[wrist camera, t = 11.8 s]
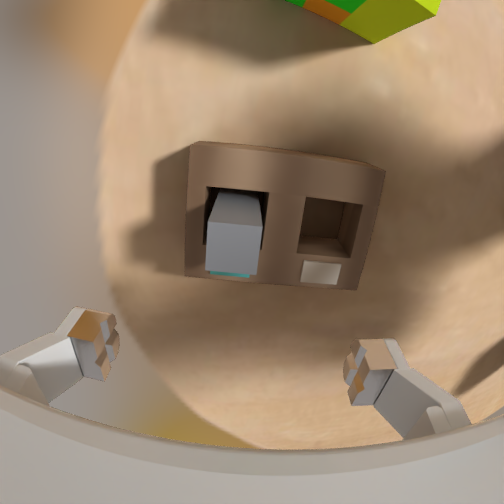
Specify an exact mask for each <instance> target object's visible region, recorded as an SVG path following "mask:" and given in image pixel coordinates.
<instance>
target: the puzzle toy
mask: <svg viewBox="0 0 504 504" xmlns="http://www.w3.org/2000/svg"><path fill="white" fill-rule="evenodd" d="M285 1H288V2H290V3H293V4H295V5H298V6H300V7H302V8H305V9H307V10H309V11H311V12H314V13H316V14H318V15H320V16H322V17H324V18H326V19H328V20H331V21H333V22H335V23H337V24H338V25H340V26H342V27H344V28H346V29H348V30H350V31H352V32H354V33H355V34H357V35H359V36H361V37H362V38H364V39H366V40H368V41H369V42H371V43H373V44H375V43H377V42H379V41H381V40H383V39H385V38H387V37H389V36H391V35H393V34H395V33H397V32H400V31H402V30H404V29H406V28H408V27H410V26H413V25H415V24H417V23H420V22H422V21H424V20H427V19H429V18H431V17H434V16H436V14H437V11H438V8H439V5H440V2H441V0H285Z"/></svg>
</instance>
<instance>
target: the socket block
mask: <svg viewBox="0 0 504 504" xmlns="http://www.w3.org/2000/svg"><path fill="white" fill-rule="evenodd" d="M385 172H386V171H384V170H382V169H380V168H377V167H375V166H373V165H370V164H368V163H365V162H360V161H354V160H349V159H344V158H338V157H332V156H326V155H320V154H314V153H307V152H300V151H293V150H286V149H278V148H270V147H261V146H252V145H242V144H231V143H219V142H205V141H198V142H196V143H194V144H192V145H190V154H189V169H188V185H187V206H186V233H185V276H189V277H199V278H209V279H220V280H231V281H242V282H253V283H265V284H277V285H289V286H303V287H316V288H331V289H346V290H357V287H358V283H359V280H360V276H361V273H362V269H363V266H364V262H365V259H366V255H367V251H368V247H369V243H370V240H371V236H372V232H373V227H374V223H375V219H376V215H377V210H378V206H379V201H380V197H381V192H382V187H383V182H384V177H385ZM211 187H221V188H232V189H243V190H253V191H262V192H265V193H264V201H263V209H262V217H261V219H262V226H263V228H262V236H261V243H260V251H259V258H258V266H257V273H256V275H250V274H239V273H228V272H218V271H208V270H205V264H206V245H207V229H208V220H209V213H210V198H211ZM306 197H313V198H320V199H328V200H335V201H342V202H345V205H344V210H343V215H342V220H341V224H340V229H339V234H338V238H337V239H330V238H321V237H312V236H302V235H300V229H301V223H302V218H303V212H304V206H305V199H306Z"/></svg>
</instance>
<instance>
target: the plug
mask: <svg viewBox="0 0 504 504" xmlns="http://www.w3.org/2000/svg"><path fill="white" fill-rule="evenodd" d="M262 228H263V226H262V219H261V211H260V204H259V197H258V191H253V190H243V189H232V188H220V191H219V193H218V196H217V199H216V201H215V204H214V207H213V209H212V212H211V215H210V217H209V220H208V229H207V245H206V264H205V270H208V271H218V272H228V273H239V274H250V275H256V273H257V266H258V258H259V251H260V243H261V236H262Z"/></svg>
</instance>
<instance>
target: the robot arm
mask: <svg viewBox="0 0 504 504" xmlns="http://www.w3.org/2000/svg"><path fill="white" fill-rule="evenodd" d="M116 324H117V323H116V319H115V316H114V315H113V314H110V313H106V312H101V311H96V310H92V309H87V308H82V307H78V306H76V307H74V308H73V309H72V310H71V311H70V313H69V314H68V315H67V316H66V318H65V319H64V320H63V322H62V323H61V324H60V326H59V327H58V328H57V329H56V331H55V332H54V333H52V332H50V333H47V334H45V335H43V336H41V337H39V338H37V339H35V340H32V341H30V342H28V343H26V344H23V345H21V346H19V347H17V348H15V349H13V350H10V351H8V352H6V353H4V354H2V355H0V504H504V414H503V415H500V416H497V417H494V418H491V419H488V420H485V421H482V422H479V423H475V424H471V422H470V420H469V418H468V416H467V414H466V412H465V410H464V408H463V406H462V404H461V402H460V401H459V400H458V399H457V398H455V397H454V396H452V395H451V394H449V393H448V392H447V391H445V390H444V389H442V388H441V387H440V386H438V385H437V384H435V383H434V382H432V381H431V380H430V379H428V378H427V377H425V376H424V375H423V374H421V373H420V372H418V371H417V370H415V369H414V368H412V369H410V367H409V365H408V363H407V361H406V359H405V357H404V355H403V353H402V351H401V349H400V347H399V345H398V343H397V341H396V340H395V339H394V338H381V339H354V340H353V342H352V344H351V347H350V348H351V351H352V353H350V354H349V355H348V356H347V357H346V359H345V362H344V367H343V377H344V380H345V382H346V383H347V384H348V385H349V386H350V387H349V389H348V395H349V399H350V402H351V406H363V405H374V408H375V409H376V410H377V411H378V412H379V413H380V414H381V415H382V416H383V417H384V418H385V419H386V420H387V421H388V422H389V423H390V424H391V425H392V426H393V428H394V429H395V430H396V431H397V432H398V433H399V434H400V435H401V436H402V437H403V440H402V441H395V442H389V443H382V444H374V445H365V446H356V447H344V448H329V449H303V450H277V449H250V448H236V447H225V446H215V445H206V444H198V443H191V442H185V441H178V440H171V439H167V438H161V437H156V436H151V435H146V434H141V433H137V432H132V431H128V430H124V429H120V428H117V427H113V426H109V425H105V424H102V423H98V422H95V421H92V420H88V419H85V418H82V417H79V416H76V415H72V414H70V413H67V412H64V411H61V410H58V409H56V408H53V407H50V406H49V404H48V403H49V402H51V401H52V400H53V399H55V398H56V397H58V396H59V395H60V394H62V393H63V392H64V391H66V390H67V389H68V388H70V387H71V386H73V385H74V384H75V383H77V382H78V381H79V380H81V379H82V378H83V377H87V378H92V379H96V380H100V381H105V380H106V377H107V375H108V373H109V371H110V369H111V366H110V362H111V361H113V360H115V359H116V356H117V354H118V350H119V335H118V333H117V331H116V330H115V329H114V327H115V326H116Z"/></svg>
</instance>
